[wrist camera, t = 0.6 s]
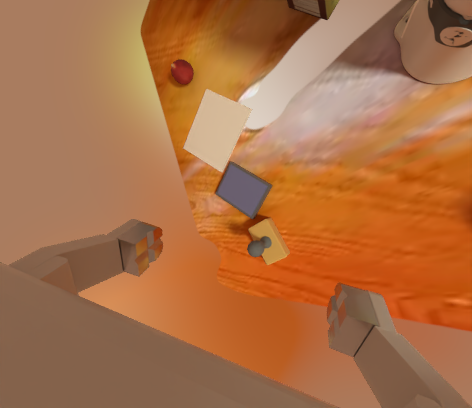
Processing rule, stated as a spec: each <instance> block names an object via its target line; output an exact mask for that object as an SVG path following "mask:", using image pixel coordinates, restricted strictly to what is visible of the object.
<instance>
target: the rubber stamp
mask: <svg viewBox="0 0 472 408" xmlns="http://www.w3.org/2000/svg"><path fill="white" fill-rule="evenodd" d="M248 231H249V233H250V235H251V237H252V238H253V240H254V241H252V242H251V243H250V244H249V245H248V248H247V250H248V253H249V254H250V255H251V256H253V257H258V256H260V255H262V257H263V259H264V261H265V263H266V264H267V265H269V264H272V263H274V262H276V261H278V260H280V259H283V258H285V257H287V256H288V254H289V253H290V251H289V249H288V247H287V245H286V244H285V242H284V240H283V238H282V236H281V235H280V233H279V231H278V229H277V227H276V226H275V224H274V222H273V220H272V218H270V217H269V218H267V219H264V220H263V221H261V222H259V223H257V224H256V225H254V226H252V227H250V228H249V229H248Z"/></svg>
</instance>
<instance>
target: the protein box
mask: <svg viewBox="0 0 472 408" xmlns="http://www.w3.org/2000/svg"><path fill="white" fill-rule="evenodd" d="M287 2H288V5H289V7H290V8H293V9H296V10H299V11H302V12H305V13H307V14H310V15H313V16H316V17H319V18H322V19H325V20H328V19H329V17H330V15H331V14H332V12H333V10H334V9H335V7H336V5H337V3H338V2H339V0H287Z"/></svg>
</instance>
